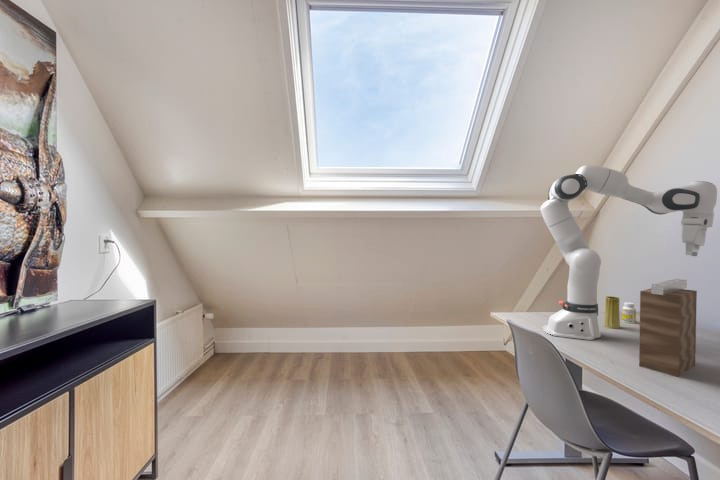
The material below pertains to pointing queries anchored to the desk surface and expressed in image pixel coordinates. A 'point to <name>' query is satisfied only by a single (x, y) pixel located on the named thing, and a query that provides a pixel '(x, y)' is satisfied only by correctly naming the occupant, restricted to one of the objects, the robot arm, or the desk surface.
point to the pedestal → (668, 331)
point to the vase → (612, 313)
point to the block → (668, 286)
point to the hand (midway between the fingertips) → (691, 255)
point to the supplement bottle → (628, 313)
